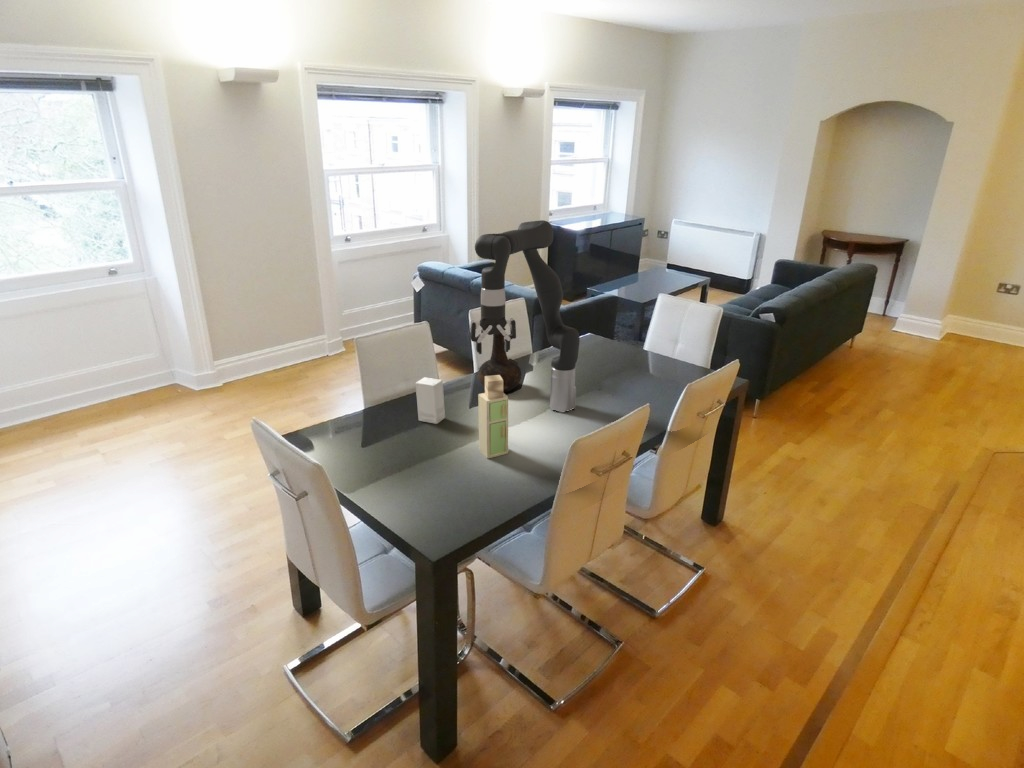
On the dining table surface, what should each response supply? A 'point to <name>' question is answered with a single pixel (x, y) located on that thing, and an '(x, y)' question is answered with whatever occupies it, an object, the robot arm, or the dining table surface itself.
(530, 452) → the dining table surface
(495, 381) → the beech block
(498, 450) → the toy refrigerator
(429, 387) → the skincare box
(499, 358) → the glass bottle
